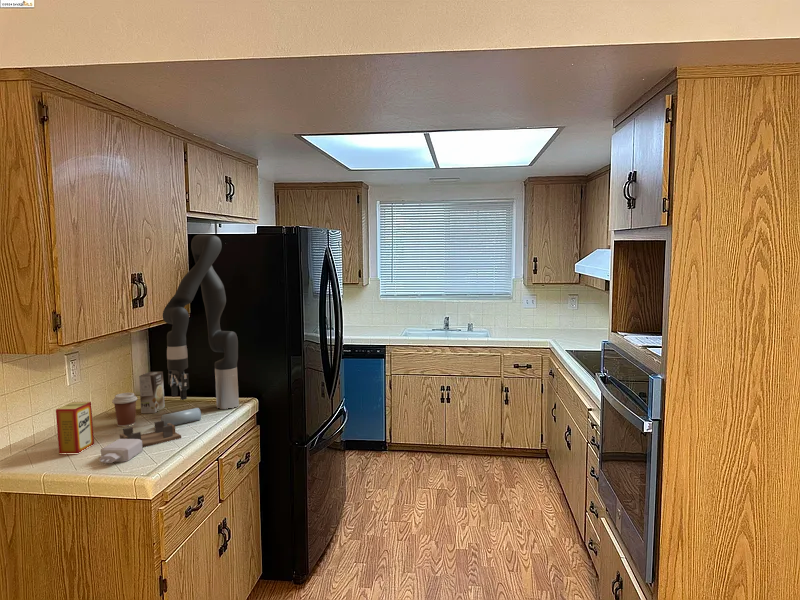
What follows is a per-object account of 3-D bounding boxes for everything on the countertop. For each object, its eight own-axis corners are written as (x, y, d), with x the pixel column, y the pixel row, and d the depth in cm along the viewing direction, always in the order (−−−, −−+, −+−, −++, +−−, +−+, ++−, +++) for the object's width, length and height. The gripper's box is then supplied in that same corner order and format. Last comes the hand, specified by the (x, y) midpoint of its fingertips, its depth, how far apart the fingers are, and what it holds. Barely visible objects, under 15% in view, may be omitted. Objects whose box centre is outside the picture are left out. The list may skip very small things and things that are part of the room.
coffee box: (155, 413, 242) (153, 375, 241) (140, 413, 242) (138, 376, 241) (165, 407, 251) (163, 371, 250) (151, 407, 251) (148, 371, 250)
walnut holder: (115, 443, 205) (114, 429, 204) (168, 430, 217) (167, 418, 217) (126, 451, 196) (125, 437, 195) (181, 438, 209) (180, 424, 208)
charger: (90, 469, 181) (116, 452, 196) (117, 469, 180) (142, 452, 195) (88, 454, 181) (116, 438, 196) (116, 454, 180) (142, 438, 195)
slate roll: (165, 430, 221) (166, 419, 220) (160, 423, 225) (161, 412, 223) (200, 422, 231) (201, 411, 229) (195, 415, 234) (196, 405, 232)
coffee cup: (141, 420, 233) (139, 391, 231) (136, 426, 224) (134, 396, 223) (116, 422, 230) (114, 392, 229) (111, 429, 222) (109, 398, 220)
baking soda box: (77, 454, 194) (74, 408, 193) (59, 454, 194) (55, 408, 193) (94, 444, 204) (90, 400, 202) (76, 444, 204) (73, 400, 202)
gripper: (194, 357, 223) (196, 399, 224) (179, 353, 233) (181, 393, 234) (175, 360, 217) (177, 402, 219) (160, 356, 228) (162, 396, 229)
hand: (179, 397), depth 226 cm, fingers open, 8 cm apart
